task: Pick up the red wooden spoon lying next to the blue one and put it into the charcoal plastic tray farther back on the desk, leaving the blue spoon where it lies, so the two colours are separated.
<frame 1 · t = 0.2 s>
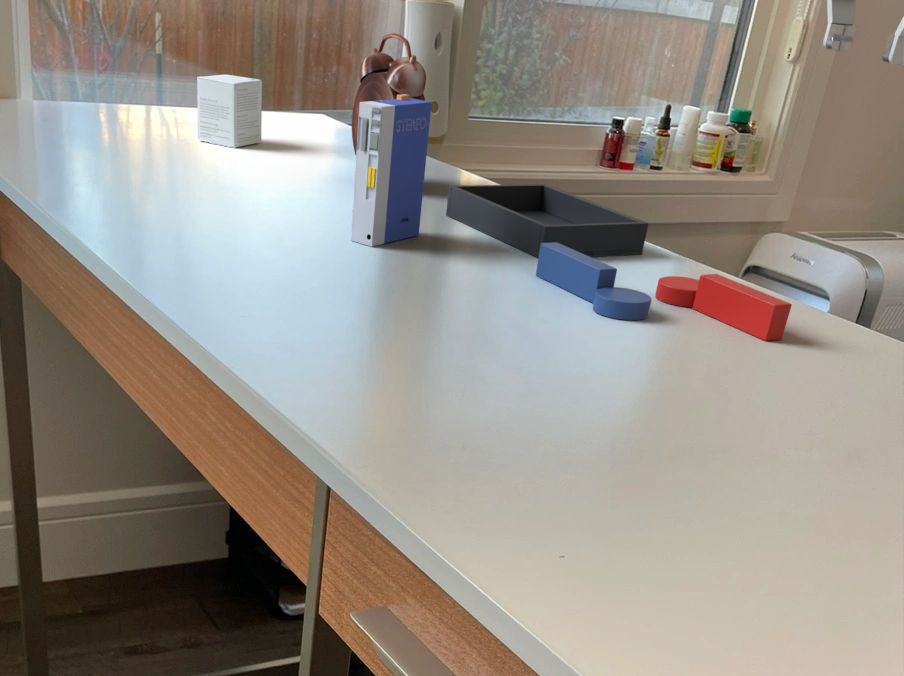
hand: (864, 57, 86), 19 cm above the table, tool pointing down, fingers open, 8 cm apart
blue spoon: (588, 296, 96), on the table
tray: (540, 234, 115), on the table
red spoon: (715, 314, 94), on the table
walkman: (385, 240, 108), on the table
product box: (229, 144, 145), on the table
alarm clock: (383, 185, 130), on the table
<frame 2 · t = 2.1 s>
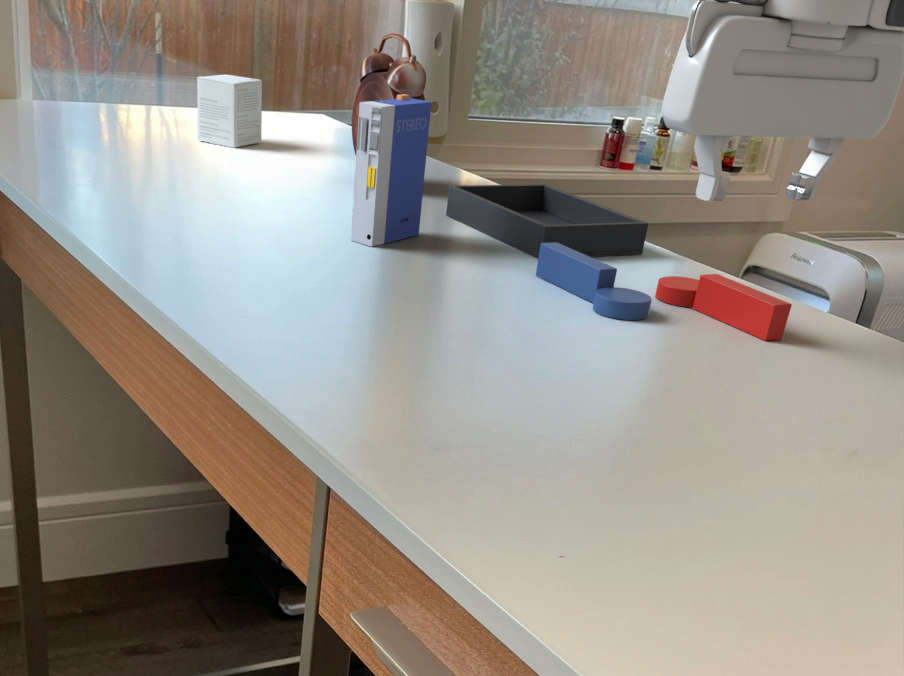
hand: (754, 199, 88), 9 cm above the table, tool pointing down, fingers open, 8 cm apart
nothing on the table moved.
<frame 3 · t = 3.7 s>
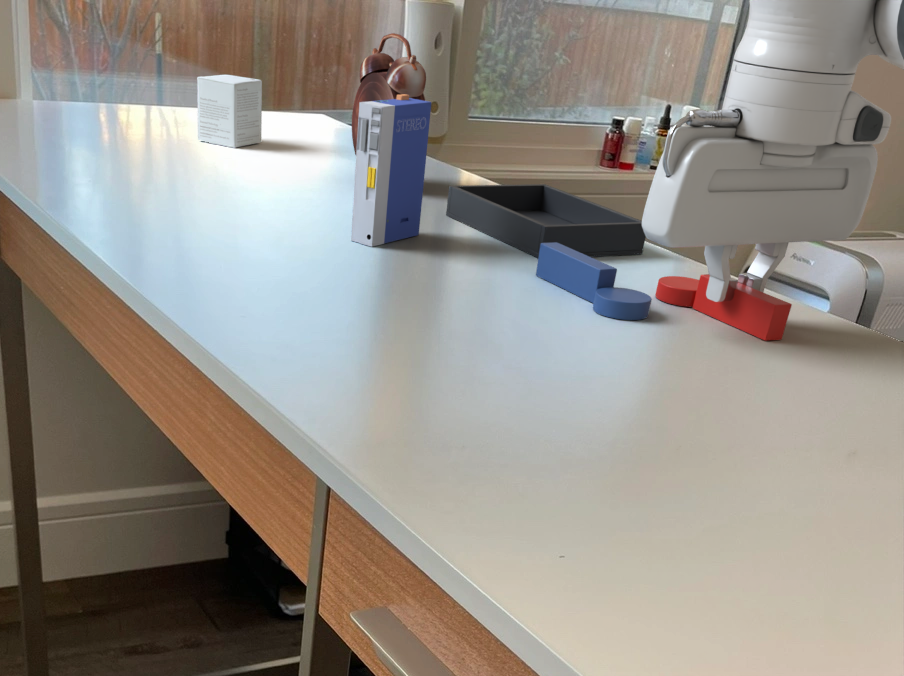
hand: (733, 299, 92), 2 cm above the table, tool pointing down, fingers closed on red spoon, 2 cm apart
red spoon: (715, 314, 94), on the table, touching gripper
everything else where it was.
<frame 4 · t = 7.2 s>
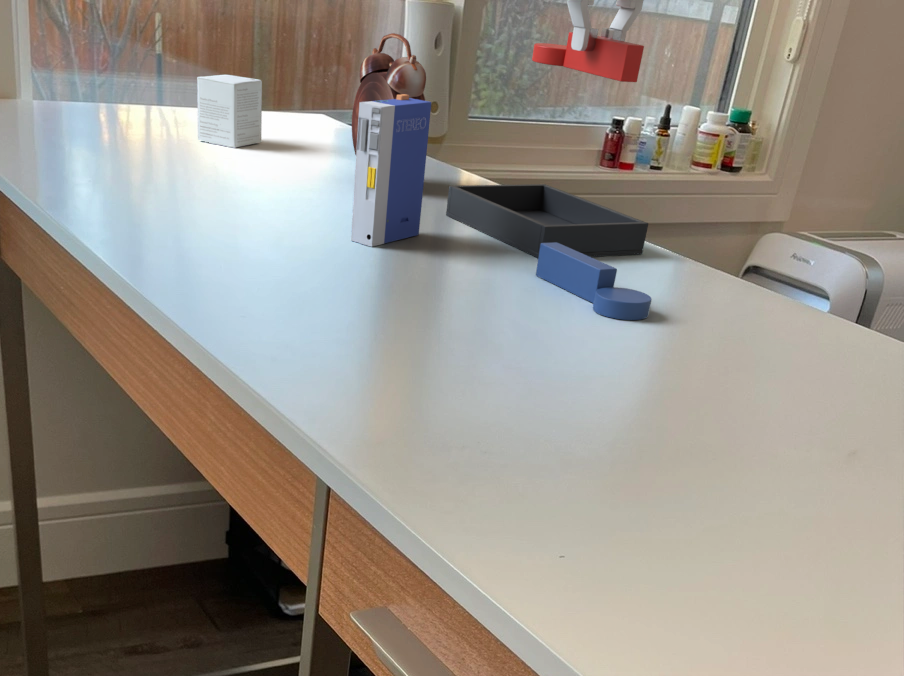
hand: (596, 51, 101), 17 cm above the table, tool pointing down, fingers closed on red spoon
red spoon: (583, 70, 103), point 15 cm above the table, touching gripper
everything else where it was.
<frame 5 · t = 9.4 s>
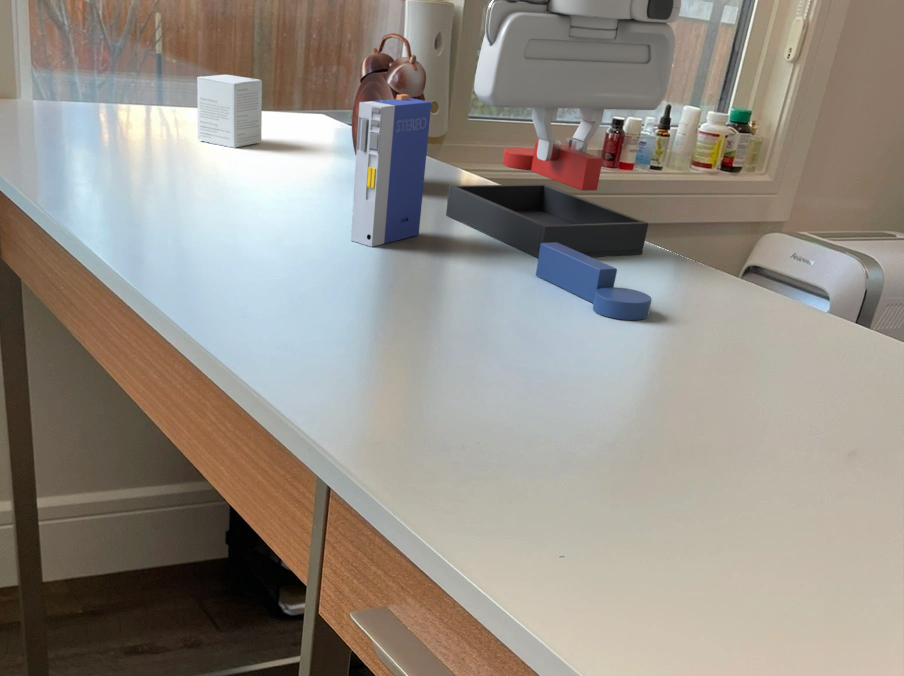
hand: (560, 159, 109), 7 cm above the table, tool pointing down, fingers closed on red spoon
red spoon: (548, 175, 111), point 6 cm above the table, touching gripper
everything else where it was.
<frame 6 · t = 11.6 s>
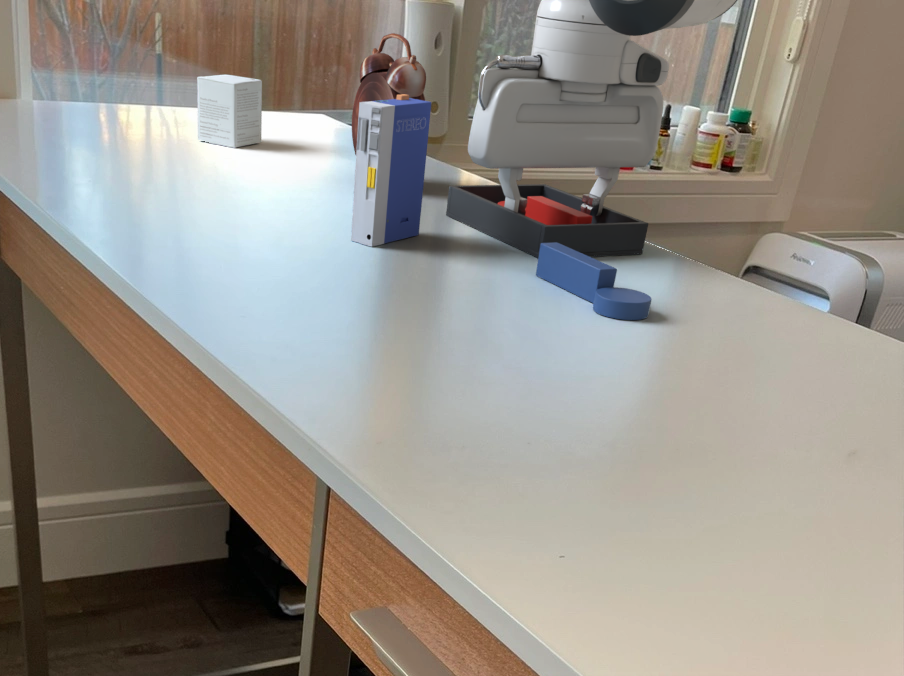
hand: (552, 215, 112), 2 cm above the table, tool pointing down, fingers open, 8 cm apart
red spoon: (540, 229, 114), resting on tray
everything else where it was.
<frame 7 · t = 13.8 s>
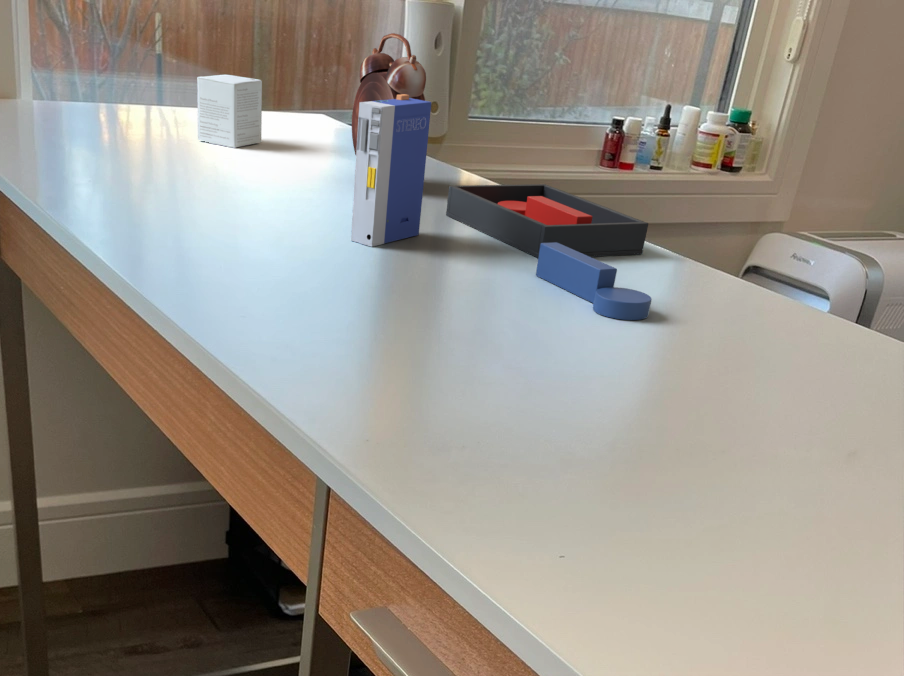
nothing on the table moved.
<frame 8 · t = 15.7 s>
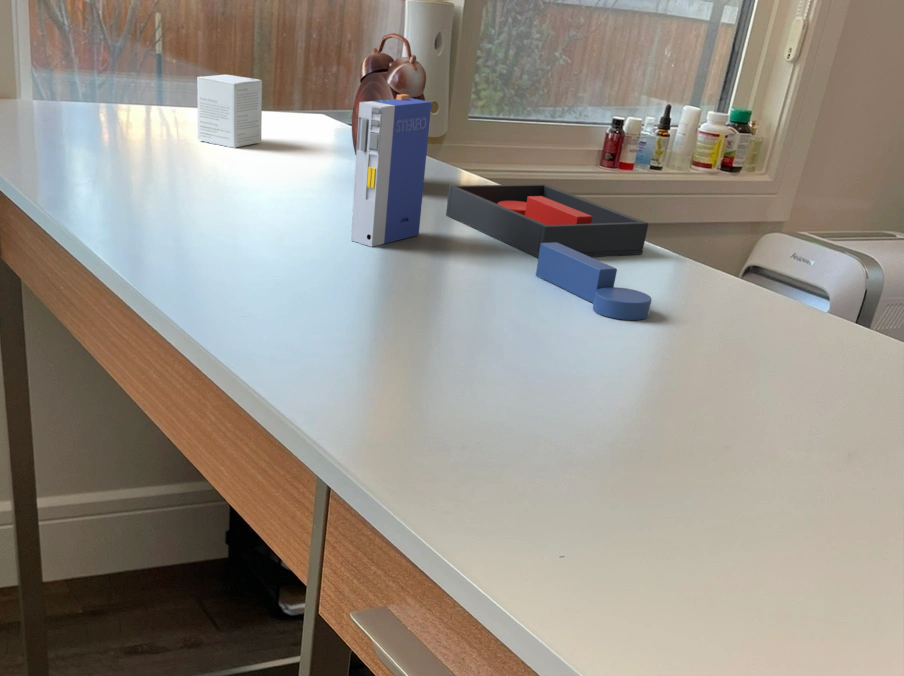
nothing on the table moved.
at the end: red spoon inside the target area in the tray (0.0 cm from its centre), point 0.4 cm above the tray's base; blue spoon moved 0.0 cm from its start; the gripper is holding nothing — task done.
